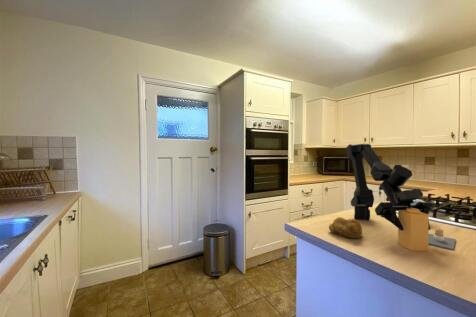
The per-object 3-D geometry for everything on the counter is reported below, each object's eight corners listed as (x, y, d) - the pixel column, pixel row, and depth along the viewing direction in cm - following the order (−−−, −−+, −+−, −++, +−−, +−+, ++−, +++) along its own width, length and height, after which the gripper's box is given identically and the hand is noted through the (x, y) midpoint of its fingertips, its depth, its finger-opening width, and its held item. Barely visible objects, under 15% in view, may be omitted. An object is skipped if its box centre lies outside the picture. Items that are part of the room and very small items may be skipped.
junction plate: (453, 250, 73) (453, 235, 73) (421, 243, 80) (421, 229, 80) (455, 240, 81) (455, 227, 81) (426, 234, 88) (426, 222, 88)
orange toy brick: (398, 243, 80) (398, 206, 80) (414, 242, 80) (414, 206, 79) (410, 250, 74) (410, 211, 74) (428, 250, 74) (428, 211, 73)
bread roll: (325, 233, 90) (325, 215, 90) (335, 228, 97) (334, 210, 97) (358, 242, 81) (358, 222, 81) (366, 235, 88) (366, 216, 87)
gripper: (379, 181, 80) (401, 219, 70) (429, 180, 80) (459, 218, 69) (367, 197, 89) (385, 233, 78) (413, 197, 88) (437, 233, 77)
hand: (415, 229), depth 75 cm, fingers open, 9 cm apart
